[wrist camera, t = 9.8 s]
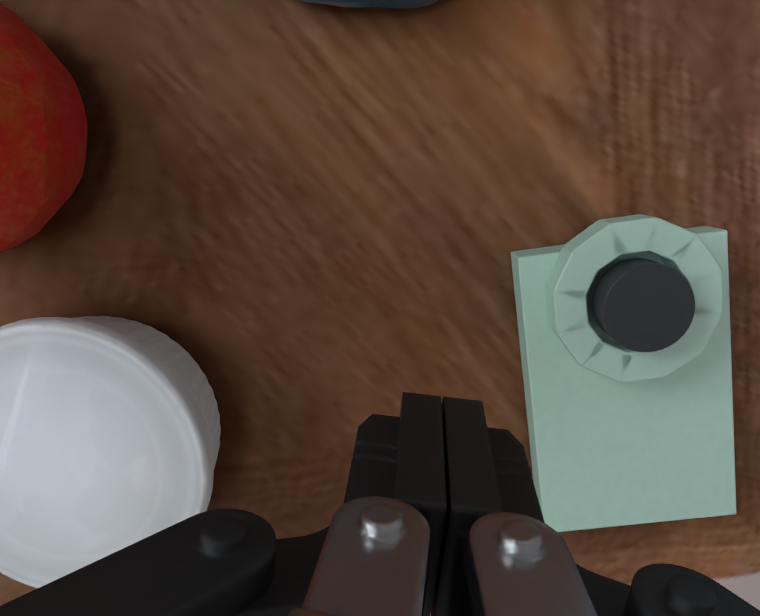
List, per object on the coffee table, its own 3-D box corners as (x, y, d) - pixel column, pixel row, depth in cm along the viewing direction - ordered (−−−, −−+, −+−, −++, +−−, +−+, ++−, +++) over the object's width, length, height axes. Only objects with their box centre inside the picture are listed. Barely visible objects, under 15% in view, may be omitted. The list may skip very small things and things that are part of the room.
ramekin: (-35, 319, 29) (-129, 352, 24) (206, 271, 28) (161, 295, 23) (41, 543, 32) (-30, 617, 26) (267, 506, 31) (238, 574, 25)
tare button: (588, 263, 25) (600, 270, 23) (676, 252, 24) (694, 258, 23) (594, 346, 25) (606, 357, 24) (680, 336, 25) (697, 347, 23)
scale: (507, 226, 27) (521, 235, 24) (705, 199, 27) (748, 204, 23) (536, 511, 30) (552, 555, 27) (716, 492, 29) (756, 535, 26)
